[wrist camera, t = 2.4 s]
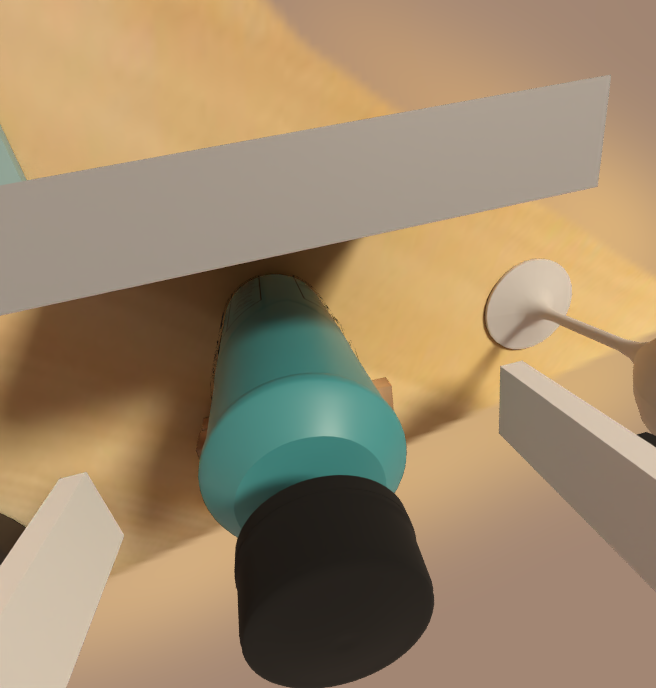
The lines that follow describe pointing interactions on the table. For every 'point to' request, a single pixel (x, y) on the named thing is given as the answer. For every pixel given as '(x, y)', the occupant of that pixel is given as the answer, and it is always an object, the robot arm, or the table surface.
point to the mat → (8, 163)
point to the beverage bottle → (310, 494)
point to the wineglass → (560, 323)
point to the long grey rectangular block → (293, 192)
